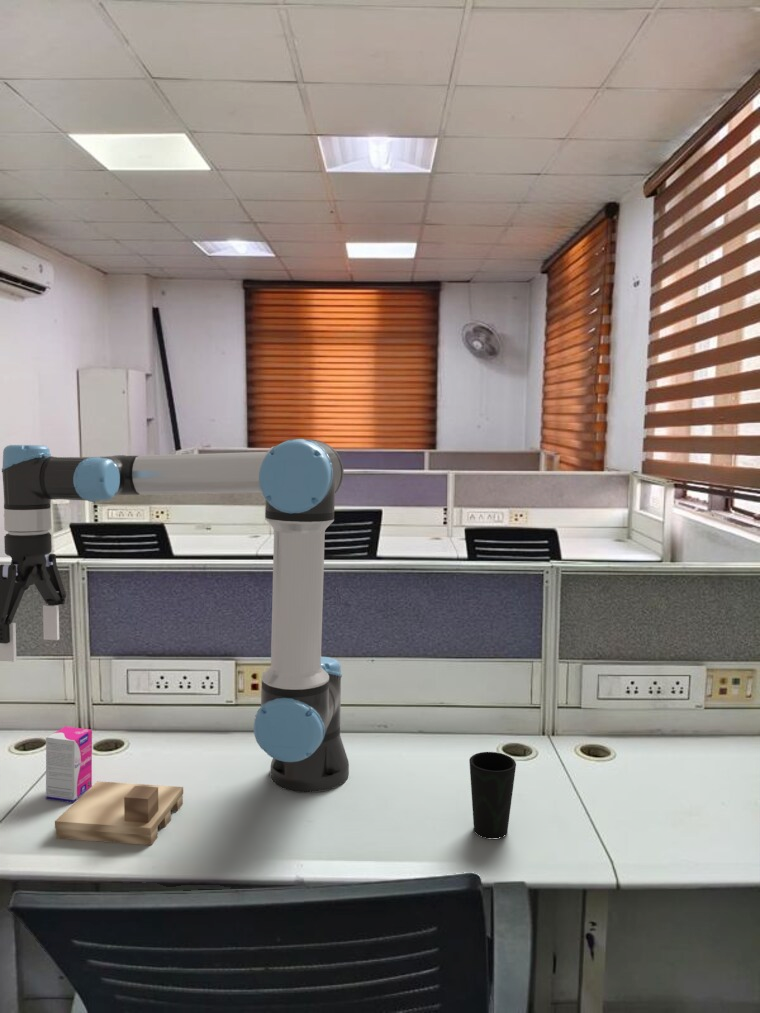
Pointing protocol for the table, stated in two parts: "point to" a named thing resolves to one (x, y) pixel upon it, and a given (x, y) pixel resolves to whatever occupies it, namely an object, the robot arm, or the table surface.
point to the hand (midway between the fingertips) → (30, 649)
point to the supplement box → (68, 764)
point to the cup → (491, 792)
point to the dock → (115, 815)
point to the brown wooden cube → (141, 804)
